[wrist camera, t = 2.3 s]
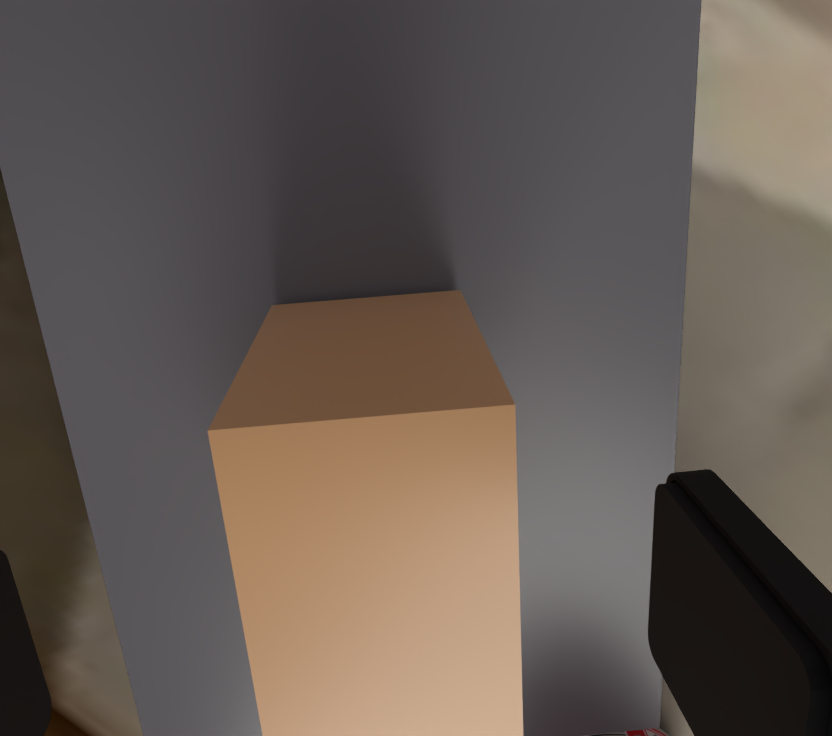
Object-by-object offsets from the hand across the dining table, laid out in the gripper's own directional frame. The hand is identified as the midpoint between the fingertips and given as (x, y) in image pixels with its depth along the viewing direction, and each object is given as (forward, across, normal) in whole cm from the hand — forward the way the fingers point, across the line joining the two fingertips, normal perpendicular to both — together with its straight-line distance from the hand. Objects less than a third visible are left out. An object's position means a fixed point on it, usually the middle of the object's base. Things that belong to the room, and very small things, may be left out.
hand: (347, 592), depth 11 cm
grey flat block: (+10, -1, 0) cm, 11 cm away
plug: (+10, -1, 0) cm, 11 cm away
